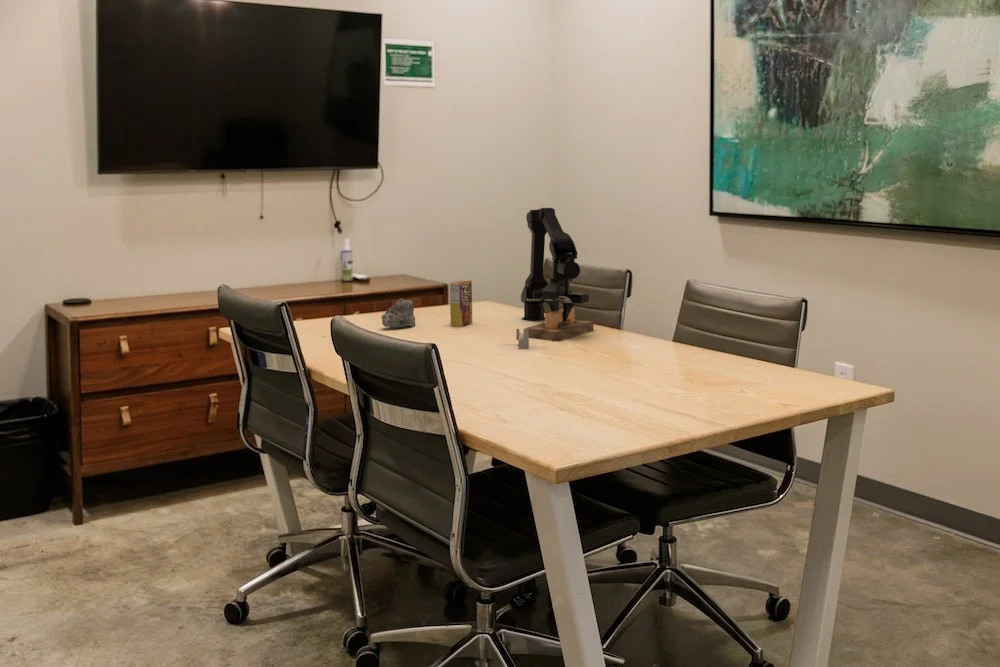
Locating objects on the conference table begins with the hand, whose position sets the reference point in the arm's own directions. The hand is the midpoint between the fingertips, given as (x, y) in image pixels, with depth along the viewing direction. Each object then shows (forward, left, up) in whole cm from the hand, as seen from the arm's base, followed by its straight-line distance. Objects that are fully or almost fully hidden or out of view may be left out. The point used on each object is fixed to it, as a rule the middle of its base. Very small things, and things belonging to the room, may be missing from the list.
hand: (560, 321), depth 344 cm
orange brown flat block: (0, 0, -3) cm, 3 cm away
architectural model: (-2, -29, -5) cm, 29 cm away
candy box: (-36, -7, -4) cm, 37 cm away
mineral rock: (-51, -24, -4) cm, 56 cm away
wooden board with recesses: (0, 0, -4) cm, 4 cm away
